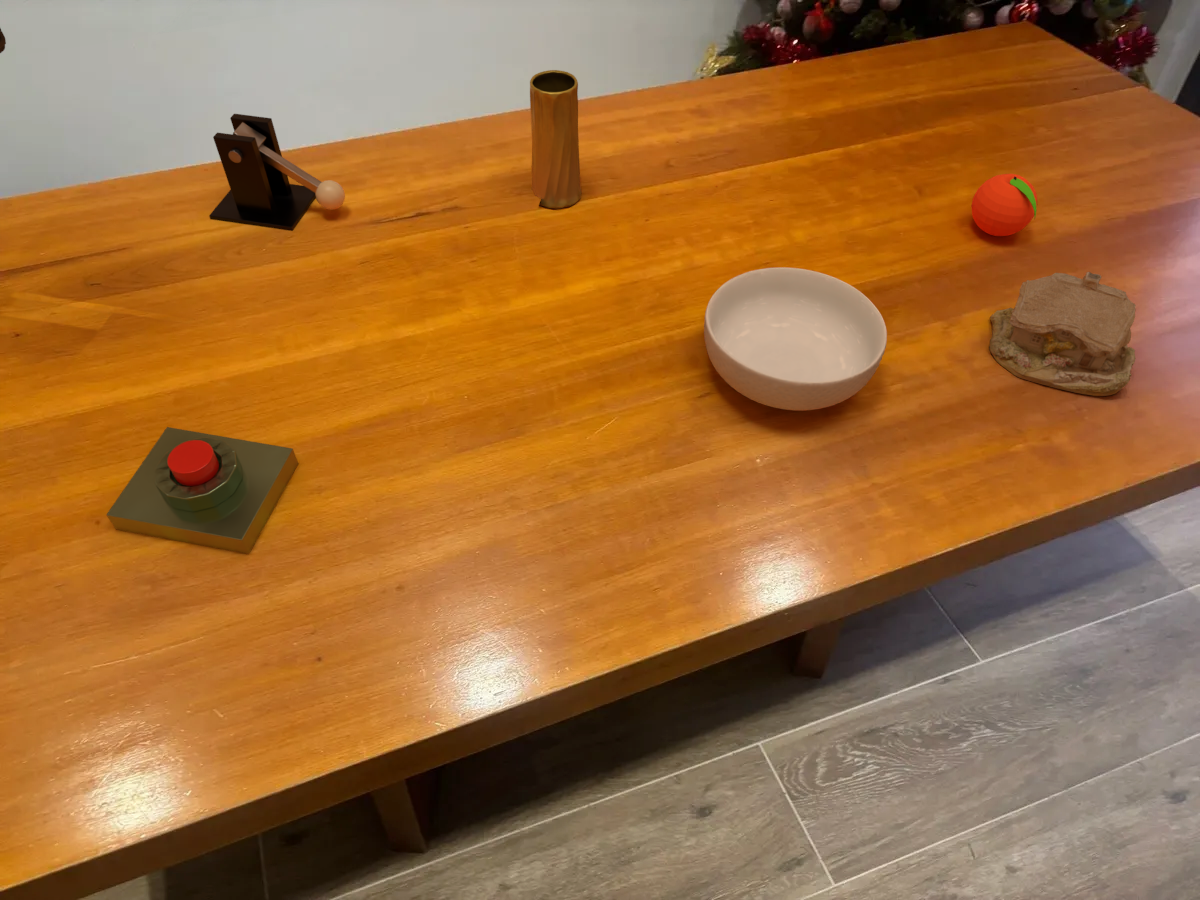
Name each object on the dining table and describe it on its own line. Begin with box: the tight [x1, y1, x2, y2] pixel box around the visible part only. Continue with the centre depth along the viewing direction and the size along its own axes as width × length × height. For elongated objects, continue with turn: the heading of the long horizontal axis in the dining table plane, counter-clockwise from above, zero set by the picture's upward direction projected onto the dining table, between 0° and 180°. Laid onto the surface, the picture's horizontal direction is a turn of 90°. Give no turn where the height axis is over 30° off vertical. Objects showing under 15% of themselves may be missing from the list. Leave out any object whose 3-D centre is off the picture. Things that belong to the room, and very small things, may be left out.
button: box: [167, 440, 219, 486], centre depth 75 cm, size 4×4×2 cm
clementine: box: [971, 173, 1038, 237], centre depth 103 cm, size 8×7×7 cm
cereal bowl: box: [703, 266, 888, 412], centre depth 87 cm, size 17×17×7 cm
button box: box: [106, 426, 299, 555], centre depth 77 cm, size 12×10×4 cm
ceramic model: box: [989, 271, 1137, 397], centre depth 88 cm, size 14×11×10 cm
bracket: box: [208, 113, 317, 232], centre depth 101 cm, size 10×8×11 cm
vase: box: [529, 69, 583, 209], centre depth 103 cm, size 6×6×14 cm
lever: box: [232, 122, 346, 211], centre depth 100 cm, size 13×3×3 cm
